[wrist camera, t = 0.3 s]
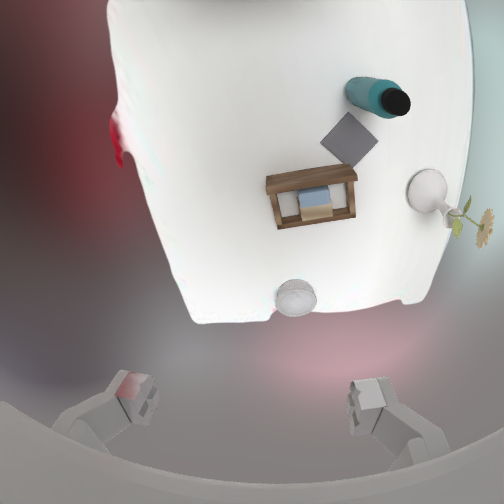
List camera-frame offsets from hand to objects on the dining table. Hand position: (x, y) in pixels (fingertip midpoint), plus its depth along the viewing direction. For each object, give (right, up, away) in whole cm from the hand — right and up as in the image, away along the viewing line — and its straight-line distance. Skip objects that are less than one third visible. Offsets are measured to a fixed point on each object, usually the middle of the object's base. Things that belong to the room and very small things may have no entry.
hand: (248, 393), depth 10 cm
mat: (+20, +28, +41) cm, 54 cm away
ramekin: (+13, -5, +68) cm, 70 cm away
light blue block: (+13, +21, +48) cm, 54 cm away
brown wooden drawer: (+13, +19, +49) cm, 55 cm away
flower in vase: (+42, +22, +45) cm, 65 cm away
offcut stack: (+14, +17, +51) cm, 55 cm away
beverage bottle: (+21, +37, +35) cm, 55 cm away
